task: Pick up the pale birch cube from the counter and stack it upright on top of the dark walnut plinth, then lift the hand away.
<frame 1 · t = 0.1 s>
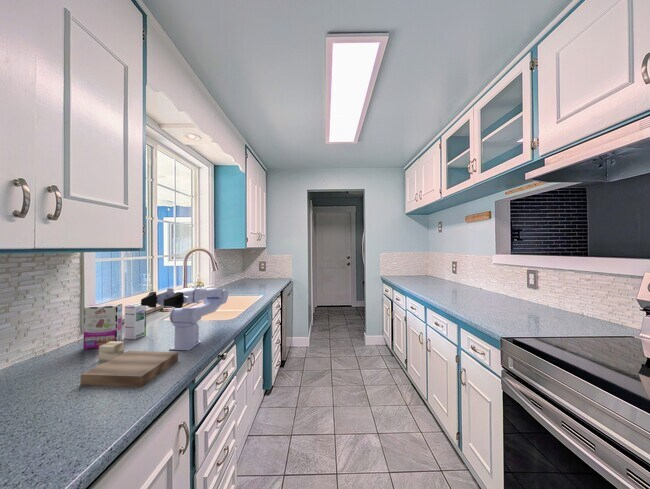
hand: (153, 302, 90), 22 cm above the countertop, tool horizontal, fingers open, 7 cm apart
candy bar box: (103, 347, 108), on the countertop
birch cube: (111, 357, 97), on the countertop
syrup box: (135, 337, 119), on the countertop
walnut plinth: (134, 371, 87), on the countertop
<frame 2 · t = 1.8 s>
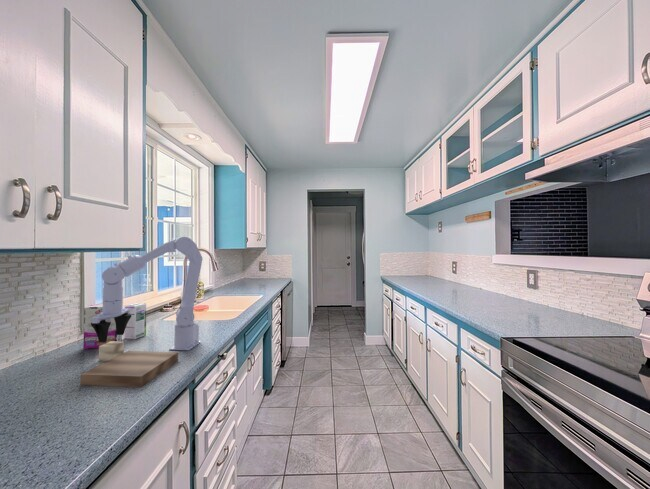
hand: (111, 338, 97), 7 cm above the countertop, tool pointing down, fingers open, 7 cm apart
nothing on the countertop moved.
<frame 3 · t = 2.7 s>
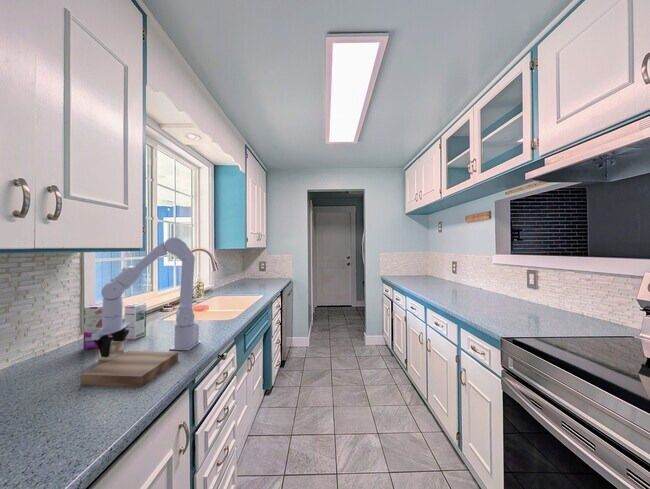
hand: (111, 353, 97), 1 cm above the countertop, tool pointing down, fingers closed on birch cube, 5 cm apart
birch cube: (111, 357, 97), on the countertop, touching gripper
everything else where it was.
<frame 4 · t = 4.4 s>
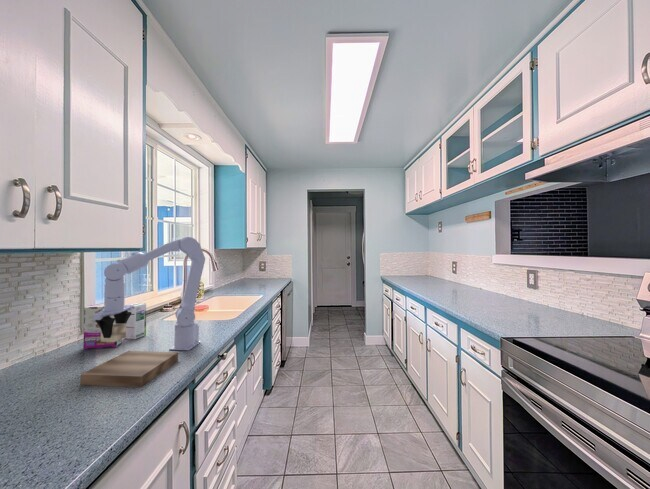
hand: (113, 335, 96), 8 cm above the countertop, tool pointing down, fingers closed on birch cube, 5 cm apart
birch cube: (113, 339, 96), point 7 cm above the countertop, touching gripper
everything else where it was.
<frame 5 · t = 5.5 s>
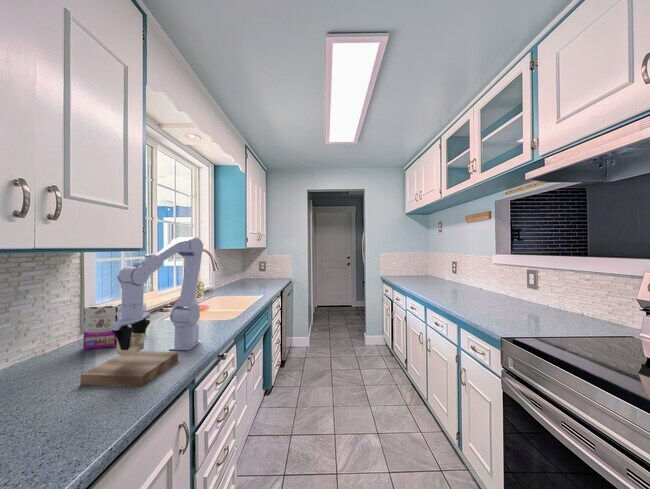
hand: (131, 346, 87), 8 cm above the countertop, tool pointing down, fingers closed on birch cube, 5 cm apart
birch cube: (130, 351, 87), point 6 cm above the countertop, touching gripper
everything else where it was.
when the fingers open (5 cm above the countertop, at t = 6.4 s): birch cube stays where it is, resting on walnut plinth.
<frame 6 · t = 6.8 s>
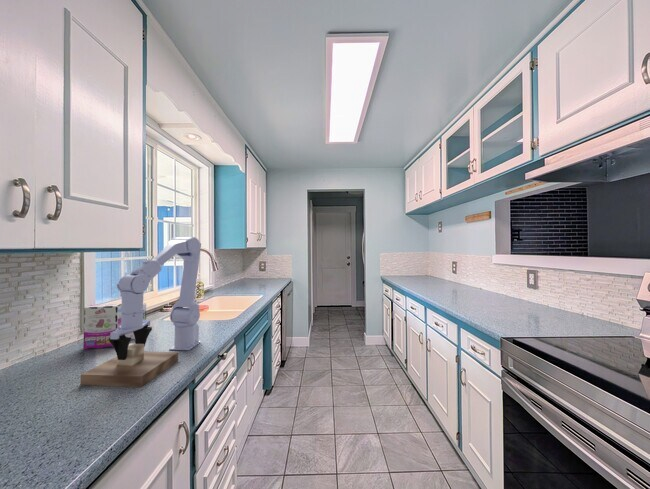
hand: (131, 354, 87), 5 cm above the countertop, tool pointing down, fingers open, 7 cm apart
birch cube: (130, 362, 87), point 3 cm above the countertop, touching walnut plinth
everything else where it was.
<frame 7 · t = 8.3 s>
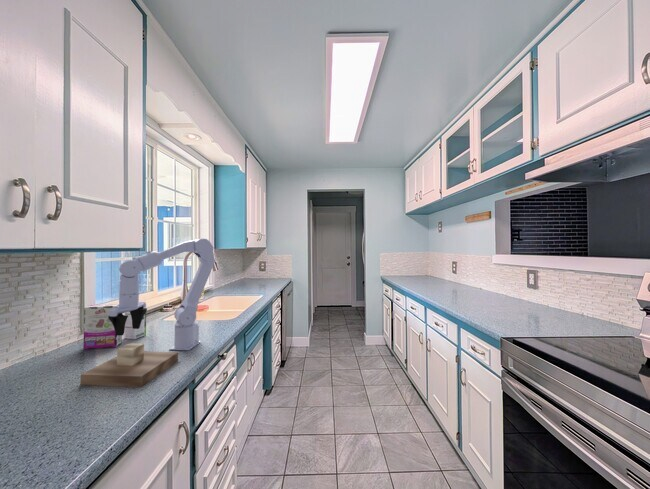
hand: (128, 331, 97), 9 cm above the countertop, tool pointing down, fingers open, 7 cm apart
nothing on the countertop moved.
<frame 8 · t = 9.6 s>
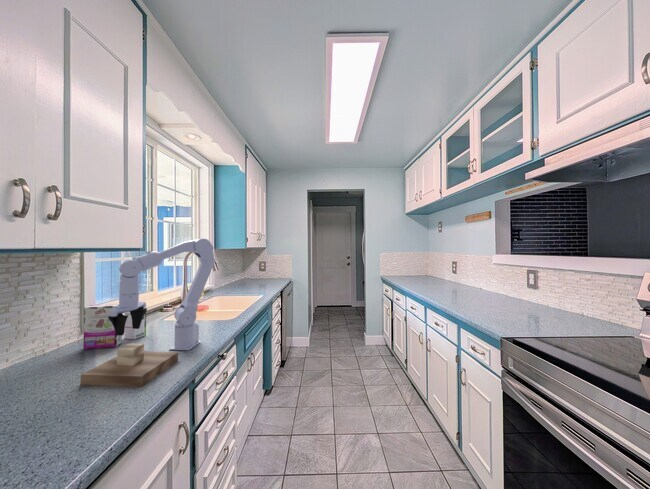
hand: (128, 331, 97), 9 cm above the countertop, tool pointing down, fingers open, 7 cm apart
nothing on the countertop moved.
at the end: birch cube inside the target area on the walnut plinth (1.2 cm from its centre), point 3.0 cm above the walnut plinth's base; birch cube tilted 0°; the gripper is holding nothing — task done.
